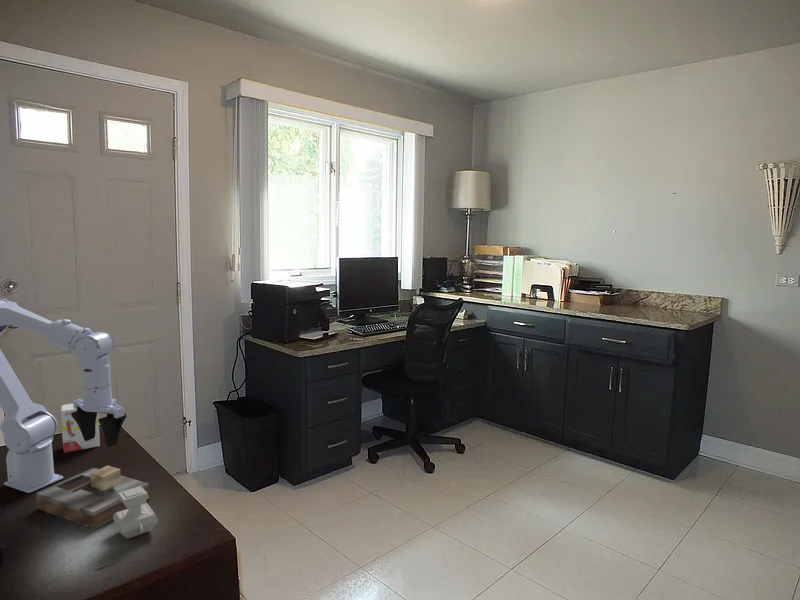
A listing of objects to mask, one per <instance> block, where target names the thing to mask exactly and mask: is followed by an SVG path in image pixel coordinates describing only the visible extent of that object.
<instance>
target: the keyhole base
mask: <svg viewBox="0 0 800 600" xmlns="http://www.w3.org/2000/svg"><path fill="white" fill-rule="evenodd" d="M99 469H100V468H99ZM99 469H98V468H97V467H92V468H89V469H88V470H85V471H83V472H81V473H78V474H76V475H74V476H71V477H68V478H66V479H64V480H62V481H61V482H60V481H59V482H58V483H55V484H53V485H52V486H49V487H46V488H45V489H42V490H39V491H37V492H35V497H36V509H37V510H39V509H40V511H42V510H43V512H45V511H46V512H45V513H48V514H50V513H51V515H53V514H54V516H56V515H57V516H56V517H59V518H62V517H63V518H62V519H64V518H67V519H69V520H68V521H70V520H72V521H71V522H73V521H74V522H73V523H76V522H77V523H76V524H78V523H80V524H79V525H81V524H82V526H84V525H86V526H85V527H87V526H88V528H89V527H91V528H90V529H92V528H94V529H93V530H96V529H98V528H100V527H101V526H103V525H105V524H106V523H105V522H107V521H109V520H110V521H112V520H113V515H114V513H116V512H119V511H122V510H125V509H127V508H126V506H125V505H124V504H123V502H122V501H121V500H120V499H119V495H118V493H119V492H122V491H125V490H129V489H132V488H135V487H138V486H141V487H142V488H143V489H144V490H145V491H146V492H147V493H148V496H149V498H148V499H149V500H150V497H151V496H150V483H148V482H145V481H141V480H138V479H134V478H131V477H127V476H124V475H121V483H119V484H117V485H114V491H113V492H111V493H109V494H107V495H105V496H100V495H99V489H97V488H94V487H91V477H90V473H92V472H94V471H96V470H99ZM81 479H84V480H86V481H87V480H88V481H87V482H85V483H83V484H81V485H78V486H77V487H74V488H72V489H70V490H68V489H64V487H66V486H68V485H71V484H72V483H75V482H77V481H79V480H81ZM148 499H147V501H148ZM67 519H66V520H67ZM111 519H112V520H111ZM110 521H109V522H110ZM104 523H105V524H104ZM107 523H108V522H107ZM102 524H103V525H102ZM100 525H101V526H100ZM99 526H100V527H99ZM97 527H98V528H97ZM95 528H96V529H95Z"/></svg>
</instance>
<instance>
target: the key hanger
mask: <svg viewBox="0 0 800 600" xmlns="http://www.w3.org/2000/svg"><path fill="white" fill-rule="evenodd" d="M121 476H122V474H121V468H118V467H114V466H111V465H105V466H104V467H101V468H99V470H96V471H94V472H92V473H90V477H91V487H94V488H97V489H99V495H100V496H105V495H107V494H109V493H111V492H113V491H114V485H117V484H119V483H121Z"/></svg>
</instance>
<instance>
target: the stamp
mask: <svg viewBox="0 0 800 600" xmlns="http://www.w3.org/2000/svg"><path fill="white" fill-rule="evenodd" d="M118 495H119V499H120V500H121V501H122V502H123V504H124V505H125V506H126V508H127V509H125V510H122V511H119V512H116V513H114V515H113V519H112V521H113V522H114V524H115V525H116V527H117V529H118V531H119V532H120V534H121V535H122V537H124V538H126V540H128V539H131V538H133V537H136V536H139V535H142V534H145V533H147V532H148V533H149V532H150V531H152V529H154V527H155V526H156V525H157V523H158V522H159V519H158V517H157V516H156V514H155V512H154V511H153V509H152V508H151V507H150V505H149V504H148V503H147V501H148V500H147V499H148V498H149V496H150V495H149V496H148V493H147V492H146V491H145V490H144V489H143V488H142V487H141V486H138V487H135V488H132V489H129V490H125V491H122V492H119V493H118Z"/></svg>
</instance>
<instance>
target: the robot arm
mask: <svg viewBox="0 0 800 600" xmlns="http://www.w3.org/2000/svg"><path fill="white" fill-rule="evenodd" d="M10 325H11V326H13V327H17V328H21V329H22V330H27V331H29V332H33V333H36V334H39V335H41V336H44V338H45V341H46V343H48V344H50V345H53V346H55V347H58V348H61V349H63V350H66V351H68V352H70V353H73V355H74V356H75V358H76V359H77V360H78V365H79V367H80V374H81V375H80V376H81V392H82V393H81V394H82V397H81V398H78V399H75V400H72V404H73V407H74V409H77V410H76V412H73V413H71V416H72V417H73V418H74V420H75V421H76V423H77V424H78V426H79V428H80V430H81V433H82V436H83V438H84V440H85V441H88V440H91V439H93V438H95V424H96V417H97V413H98V414H103V415H106V416H104V417H101V418H98V422H99V425H100V426H101V428H102V431H103V435H104V441H105V444H106V447H107V448H110V447H112V446H115V445H117V444H118V440H119V436H120V432H121V429H122V426H123V424H124V422H125V420H126V418H127V413H125V407H124V406H120V405H119V404H118V403H117V399H116V398H113V393H112V392H113V391H112V390H113V389H112V377H111V363H110V362H111V361H110V354H111V352H113V350H114V347H115V342H114V338H113V337H112V335H110V333H108V332H106V331H104V330H96V331H92V330H91V328H89V327H82V326H79V325H76V324H74V323H72V320H71V319H68V318H65V319H64V318H63V319H57V320H55V321H52V320H50V319H47V318H46V317H43V316H41V315H38V314H37V313H35V312H32V311H30V310H27V308H23V307H21V306H19V305H18V303H17V302H14V301H9V300H8V299H6V298H2V297H1V298H0V337H1V336H2V335H3V334H4V332H5V331H6V330H7V329H8V327H10ZM29 396H30V395H28V392H27V391H26V389H25V388H24V386H23V384H22V383H21V382H20V380H19V378H18V376H17V374H16V372H15V371H14V369H13V368H12V366H11V365H10V363H9V361H8V360H7V358H6V356H5V355H4V353H3V351H2V349H1V348H0V408H1V410H2V412H3V414H4V417H3V419H2V421H1V423H0V430H1V432H2V436H3V442H4V444H5V446H6V448H8V449H9V450H8V451H7V454H6V457H5V461H6V470H7V481H5V482H3V486H7V487H10V488H12V489H15V490H18V491H21V492H24V493H27V494H30V493H33V492H35V491H38V490H40V489H42V488H44V487H46V486H49V485H52V484H54V483H56V482H58V481H61V480H63V479H64V476H63V475H61V474H57V473H55V468H54V465H55V464H54V454H53V443H52V442H53V441H54V435H56V433H57V432H58V430H59V423H58V421H57V419H56V417H55V416H54V415H53V414H52V413H50V412H49V411H47V409H46V407H45V406H44V405H42V404H40V403H39V404H38V403H36V402H33V401H32V399H31V398H30V397H29Z"/></svg>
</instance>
